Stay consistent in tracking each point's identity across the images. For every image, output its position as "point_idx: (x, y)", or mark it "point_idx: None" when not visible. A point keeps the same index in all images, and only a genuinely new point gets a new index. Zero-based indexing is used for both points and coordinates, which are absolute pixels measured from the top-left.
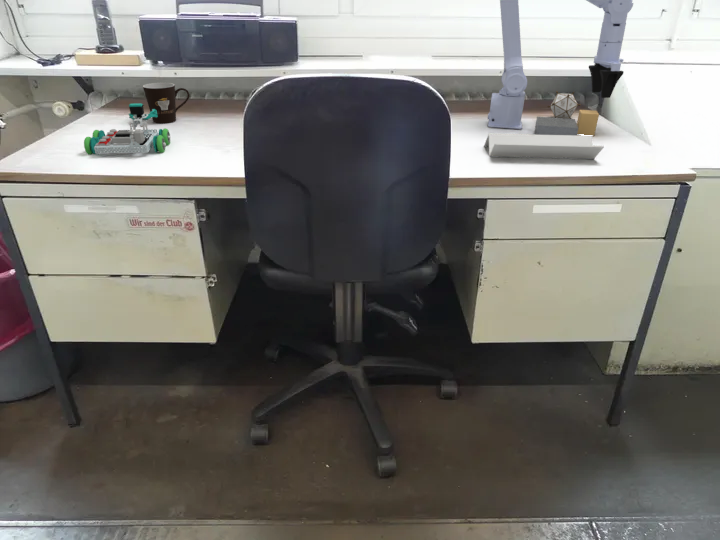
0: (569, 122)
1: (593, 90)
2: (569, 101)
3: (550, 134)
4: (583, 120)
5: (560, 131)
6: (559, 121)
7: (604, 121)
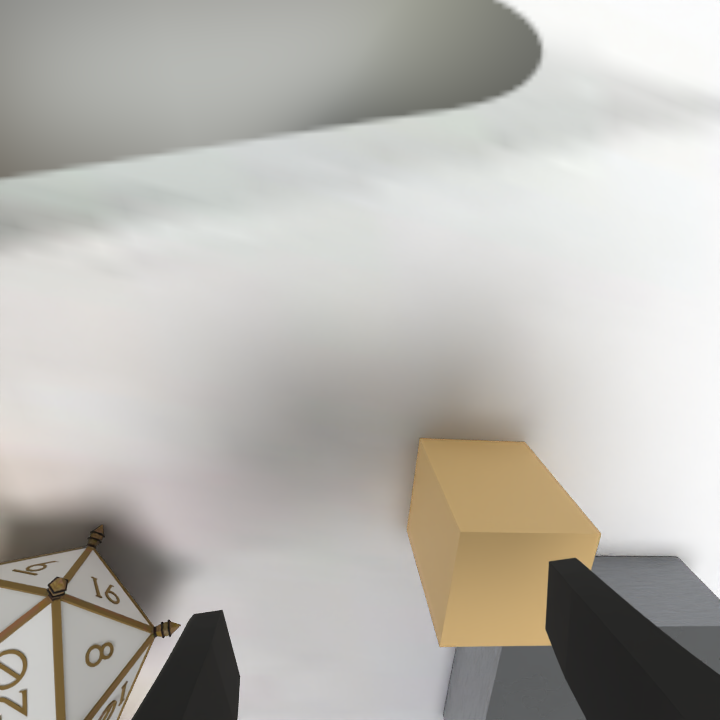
0: None
1: (234, 696)
2: (86, 689)
3: None
4: None
5: None
6: None
7: (30, 285)
